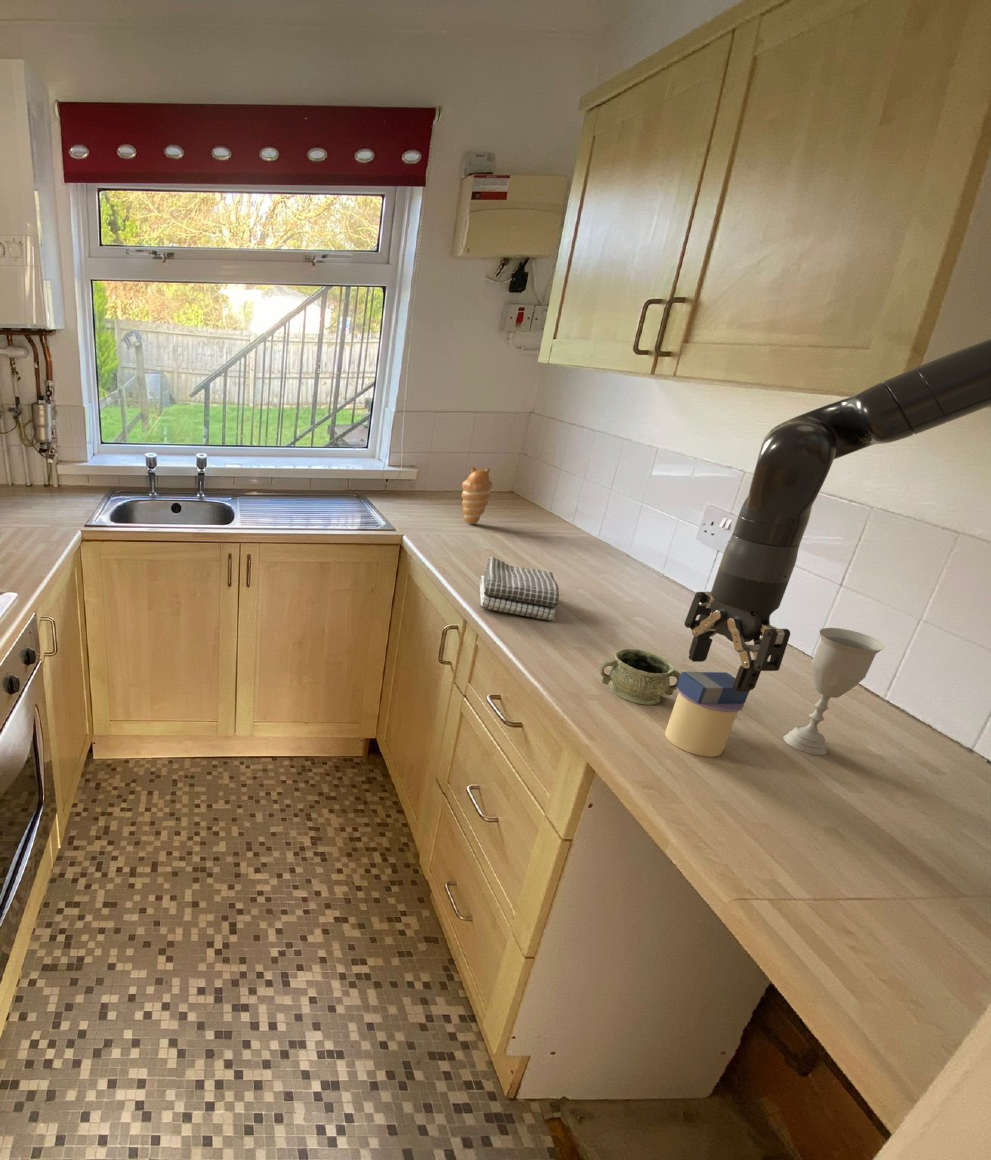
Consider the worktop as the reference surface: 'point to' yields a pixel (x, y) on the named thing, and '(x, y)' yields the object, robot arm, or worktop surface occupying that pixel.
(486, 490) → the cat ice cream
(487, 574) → the towel
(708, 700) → the block
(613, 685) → the vessel
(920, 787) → the worktop surface
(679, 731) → the yogurt pot
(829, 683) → the chalice
